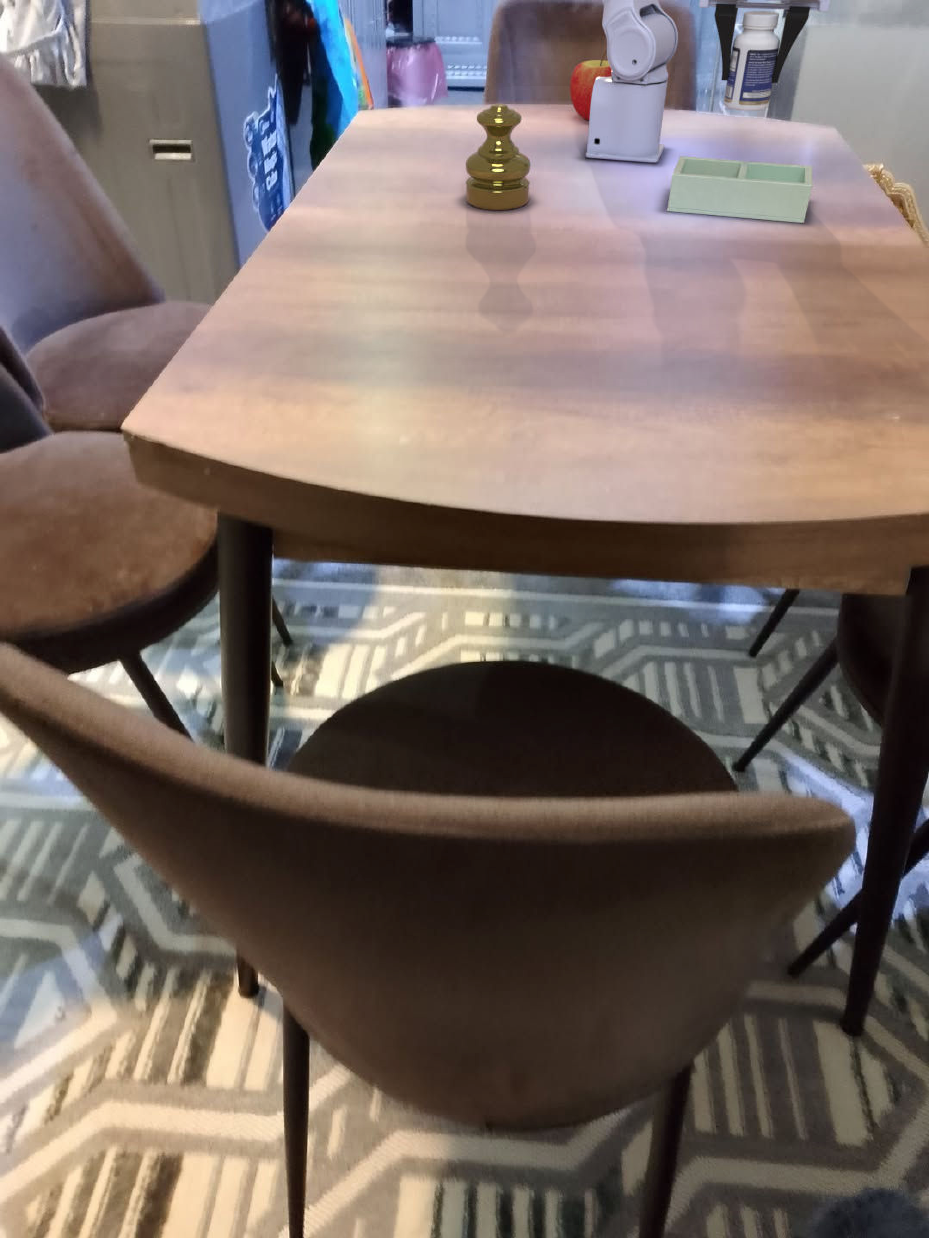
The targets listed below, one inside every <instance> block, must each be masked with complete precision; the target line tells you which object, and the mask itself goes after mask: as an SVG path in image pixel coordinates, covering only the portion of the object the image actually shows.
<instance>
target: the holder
mask: <svg viewBox="0 0 929 1238" xmlns="http://www.w3.org/2000/svg"><path fill="white" fill-rule="evenodd" d="M812 190H813V166H812V165H803V164H789V163H775V162H764V161H763V162H762V161H748V160H738V159H737V160H735V159H722V158H710V157H696V156H684V155H683V156H682V155H679V157H678V160H677V163H676V165H675V167H674V169H673V172H672V175H671V180H670V189H669V195H668V202H667V209H666V211H667V212H673V213H674V212H675V213H685V214H696V215H709V216H718V217H729V218H730V217H731V218H741V219H742V218H743V219H753V220H763V221H775V222H786V223H787V222H788V223H798V224H804V223H805V219H806V216H807V211H808V207H809V204H810V203H809V202H810V198H811V193H812Z"/></svg>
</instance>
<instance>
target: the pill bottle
mask: <svg viewBox="0 0 929 1238" xmlns="http://www.w3.org/2000/svg"><path fill="white" fill-rule="evenodd" d="M779 18H780V13H779V12H776V11H770V10H769V11H767V10H751V11H745V12H744V13H743V18H742V25H741V27H742V28H743V30H742V32H741V33H739V34H737V35H736V36H735V37H734V38H733V41H732V48H731V59H730V66H729V73H728V80H727V81H726V84H725V91H724V97H723V105H724V107H725V108H727V109H729V110H735V111H742V112H759V111H763V110H765V109H767V108H768V107H769V104H770V98H771V92H772V88H773V83H772V78H773V73H774V69H775V65H776V61H777V56H778V52H779V48H780V43H781V39H780V37H779V36H778V35H777V34H776V33H775V29H777V28H778V23H779Z"/></svg>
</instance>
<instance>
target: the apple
mask: <svg viewBox="0 0 929 1238" xmlns="http://www.w3.org/2000/svg"><path fill="white" fill-rule="evenodd" d="M606 55H607V49H605V52H604V53H603V55H602V56H601V59H597V60H596V59H593V60H586V61H582V62H580V63H579V64H577V65H576V66H575V67H574V69H573V71H572V73H571V78H570V84H569V95H570V99H571V104H572V106H573V108H574V110H575V112H576V114H577V115H578V116H579V117H580V118H582V119H583V120H586V121H589V119H590V107H591V98H592V91H593V86H594V82H595V80H596V78H597V77H611V71H612V69H611V67H610V65H609V63H608V60H604V58H605V56H606Z"/></svg>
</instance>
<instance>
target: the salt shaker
mask: <svg viewBox="0 0 929 1238" xmlns="http://www.w3.org/2000/svg"><path fill="white" fill-rule="evenodd" d="M476 122H477V123H478V124H479V125H480V126H481V128H483V130H484V131H485V134H486V139H485V140H484V142H483V143H482V144H481V145H480V146H479V147H478V148H477V151H475V152H473V153H472V154H470V155H469V157H467V159H466V161H465V170H466V171H465V172H466V173H467V174H468V176H470V177H468V178H467V179H466V180H465V187H466V188H465V189H466V190H465V196H466V197H465V200H466V201H467V203H468V204H469V205H471V206H472V207H475V208H478V209H482V210H488V211H508V210H513V209H517V208H521V207H523V206H524V205H526V204H527V203H528V201H529V196H530V195H529V194H530V193H529V192H530V190H529V189H530V184H531V182H530V181H529V179H528V178H526V177H527V176H528V174H529V173H530V171H531V161H530V159H529V158H528V156H526V155H525V154H524V153H522V152H521V151H520V149H519V147H518V146H516V144H515V143H514V141H513V140H512V138H511V135H512V132H513V131H514V129H515V128H516V127H517V126H518V125H519V124H521V122H522V115H521V113H520V112H517V111H516V110H515V109H513V108H510V107H509V106H508V105H507V104H506V103H493V104H492V105H491V106H490V107H488V108H485V109H483V110H482V111H480V112H479V113H478V114H476Z"/></svg>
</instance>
